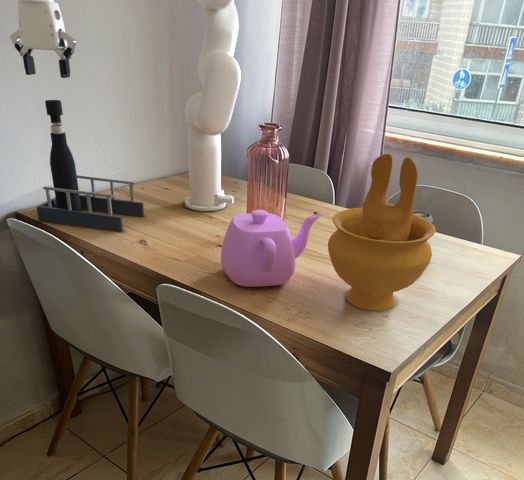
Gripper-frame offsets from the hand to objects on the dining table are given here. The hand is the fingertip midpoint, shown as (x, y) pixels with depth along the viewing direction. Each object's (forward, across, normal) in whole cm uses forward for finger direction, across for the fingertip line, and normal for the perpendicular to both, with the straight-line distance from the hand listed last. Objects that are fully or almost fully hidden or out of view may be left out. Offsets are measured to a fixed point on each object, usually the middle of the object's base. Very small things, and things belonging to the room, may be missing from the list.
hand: (48, 76), depth 136 cm
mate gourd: (+35, -97, -13) cm, 104 cm away
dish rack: (+36, -8, 0) cm, 37 cm away
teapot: (+36, -62, +21) cm, 74 cm away
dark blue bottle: (+36, 0, 0) cm, 36 cm away
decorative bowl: (+36, -88, +24) cm, 98 cm away
